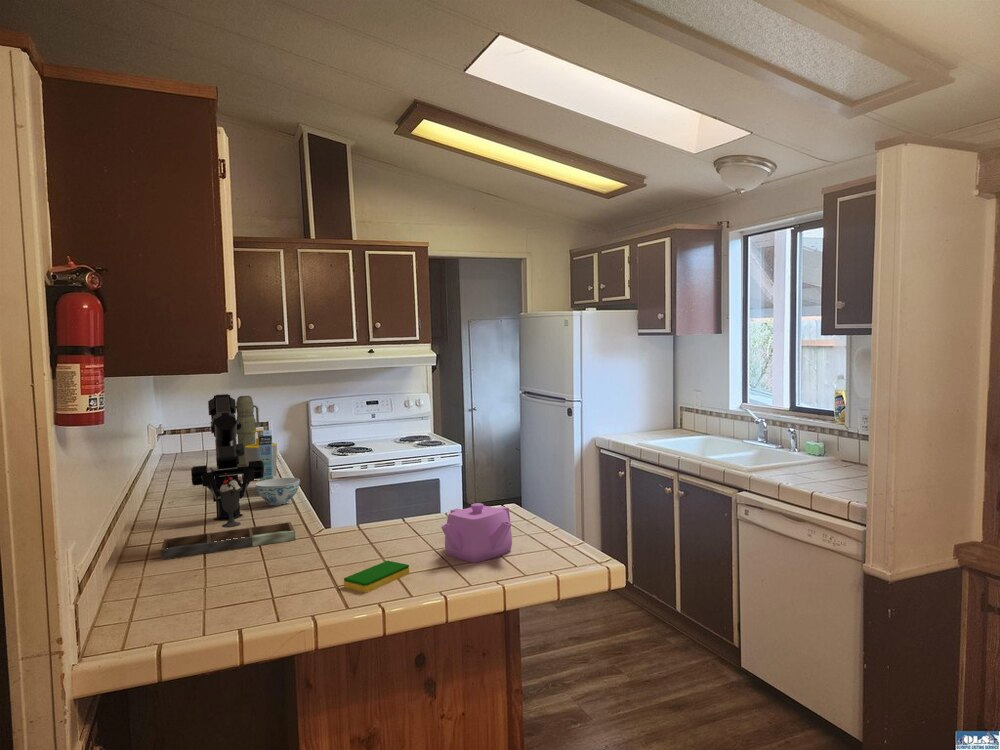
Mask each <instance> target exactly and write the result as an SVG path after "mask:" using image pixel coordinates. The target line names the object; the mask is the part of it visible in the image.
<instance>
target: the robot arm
mask: <svg viewBox="0 0 1000 750" xmlns="http://www.w3.org/2000/svg"><path fill="white" fill-rule="evenodd" d="M236 402H237V401H236V399H235V398H233V397H231V394H228V393H221V394H215V395H213V397H212V398H211V399H210V400H208V401H207V404H208V407H207V408H208V416H210V418H211V419H210V420H211V421H210V431H211V434H213V437H215V444H214V445H215V459H216V468H212V467H207V464H206V465H205V464H204V465H194V466H192V467H191V469H190V471H191V473H190V474H191V475H190V476H191V485H192V486H202V487H206V488H208V489H209V491H210V492H211V493H212V500H213V503H216V504H215V505H216V506H215V507H216V510H215V511H216V517H213V519H212V520H215V521H228V520H229V513H228V512H226V511H225V510H224V509H223V507H222V502H221V497H220V493H219V492H218V491H217V490H218V489H220V487H221V486H222V485H223V484H224V483H223V482H224V481H225V474H224V473H227V475H228V476H229V477H231V478H232V479H235V480H238V481H240V482H241V486H240V487H242V490H241V491H240V498H239V500H242V499H243V498H244V497H245V494H246V492H247V490H248V487H249V485H250V483H251V482H255V481H254V479H259V478H262V477H263V475H264V463H263V461H262V460H254V461H249V464H248V466H245V467H239V456H244V444H243V443H242V444H238V440H237V437H238V435H237V431H239V429H240V428H241V423H239V421H238V420H237V416H236V415H237V409H236ZM227 475H226V480H228V478H229V477H228V476H227ZM239 475H242V481H241V479H239ZM242 516H244V514H243V513H241V504H240V502H239V506H238V508H237V510H236V511H234V513H233V518H234V520H236V519H237V518H239V517H242Z"/></svg>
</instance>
